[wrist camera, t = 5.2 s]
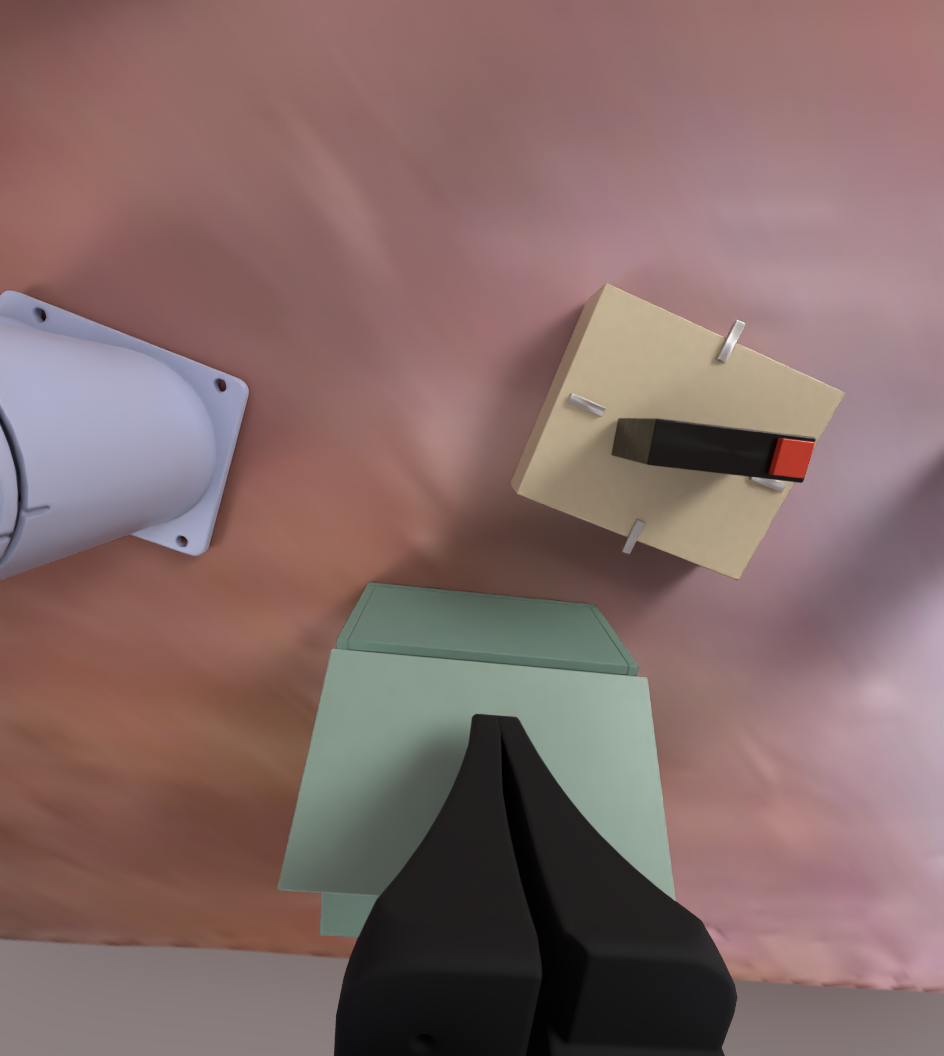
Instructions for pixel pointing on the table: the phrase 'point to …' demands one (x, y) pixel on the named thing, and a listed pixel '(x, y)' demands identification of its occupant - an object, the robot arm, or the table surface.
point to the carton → (471, 657)
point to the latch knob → (713, 448)
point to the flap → (437, 754)
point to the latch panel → (674, 394)
